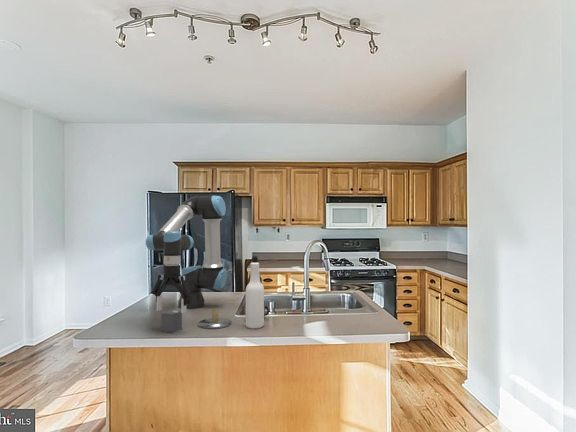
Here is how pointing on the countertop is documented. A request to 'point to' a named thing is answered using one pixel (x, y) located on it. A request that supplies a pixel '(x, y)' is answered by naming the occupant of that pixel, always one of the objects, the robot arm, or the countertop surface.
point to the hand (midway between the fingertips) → (171, 311)
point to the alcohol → (254, 299)
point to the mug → (264, 310)
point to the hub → (214, 322)
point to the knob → (171, 321)
